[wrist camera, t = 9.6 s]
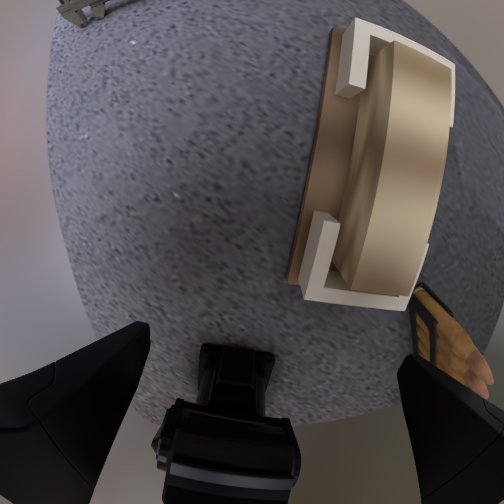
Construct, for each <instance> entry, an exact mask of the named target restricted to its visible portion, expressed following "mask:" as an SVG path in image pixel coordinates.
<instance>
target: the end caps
mask: <svg viewBox="0 0 504 504" xmlns="http://www.w3.org/2000/svg"><path fill="white" fill-rule="evenodd" d="M394 40H395V41H398V42H400V43H402V44H404V45H407V46H409V47H411V48H413V49H415V50H417V51H419V52H421V53H423V54H425V55H427V56H429V57H431V58H433V59H435V60H436V61H438V62H440V63H442V64H444V65H445V66H447V67H449V68H450V69H451V74H452V89H451V114H450V127H453V119H454V103H455V64H454V63H452V62H450V61H449V60H447V59H445V58H444V57H442V56H440V55H439V54H437V53H435V52H433V51H431V50H430V49H428V48H426V47H424V46H422V45H420V44H418V43H416V42H414V41H412V40H410V39H408V38H406V37H404V36H401V35H399V34H397V33H395V32H392V31H390V30H388V29H385V28H383V27H380V26H378V25H375V24H373V23H370V22H367V21H364V20H361V19H358V18H355V19H354V20H353V21H352V23H351V24H350V25H349V27H348V28H347V30H346V31H345V32H344V34H343V35H342V44H341V53H340V62H339V70H338V77H337V84H336V92H335V95H338V96H341V97H345V98H348V99H350V98H351V97H353V96H355V95H356V94H358V93H360V92H361V91H363V90H365V88H366V79H367V69H368V59H369V55H371V56H375V55H376V54H377V53H378V52H380V51H381V50H382V49H383V48H385V47H386V46H387V45H388V44H390V43H391V42H392V41H394ZM450 127H449V128H450ZM340 225H341V224H340V223H339V222H338V221H337V220H336V219H335V218H333V217H332V216H331V215H330V214H329V213H325V212H320V211H315V210H314V213H313V218H312V222H311V227H310V231H309V235H308V240H307V244H306V248H305V253H304V257H303V261H302V265H301V269H300V273H299V277H298V280H299V284H300V287H301V291H302V294H303V298H304V300H311V301H318V302H326V303H334V304H342V305H350V306H359V307H368V308H377V309H387V310H397V311H405V309H406V307H407V304H408V302H409V300H410V297H411V295H412V292H413V290H414V287H415V284H416V282H417V279H418V276H419V274H420V271H421V268H422V265H423V262H424V259H425V256H426V253H427V250H428V247H429V244H428V243H427V245H426V248H425V252H424V255H423V258H422V261H421V264H420V267H419V270H418V273H417V276H416V278H415V281H414V284H413V287H412V289H411V292H410V295H409V296H400V295H391V294H383V293H374V292H366V291H358V290H351V289H350V288H349V286H348V285H347V283H346V281H345V280H344V278H343V277H342V275H341V274H340V272H335V271H329V267H330V263H331V260H332V256H333V252H334V249H335V245H336V241H337V237H338V233H339V229H340Z"/></svg>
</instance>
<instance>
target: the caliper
mask: <svg viewBox="0 0 504 504" xmlns="http://www.w3.org/2000/svg"><path fill="white" fill-rule="evenodd" d="M107 1H109V0H58V1H57V6H56V9H57V10H58V11H59V13H60V14H61V15H62V17H63V18H64V19H66V20H68V21H70V22H72V23H73V24H75V25H77V26H79V27H86V26H87V17H86V16H85V15H84V13H83V11H82V10H81V9H82V8H84V7H87V6H90V7H91V10H92V11H93V13H94V15H95V16H96V17H98V20H101V19H103V18H104V12H105V2H107Z"/></svg>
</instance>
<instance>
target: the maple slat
mask: <svg viewBox="0 0 504 504" xmlns="http://www.w3.org/2000/svg"><path fill="white" fill-rule="evenodd" d="M451 89H452V74H451V69H450V68H449V67H447V66H445V65H444V64H442V63H440V62H438V61H436V60H435V59H433V58H431V57H429V56H427V55H425V54H423V53H421V52H419V51H417V50H415V49H413V48H411V47H409V46H407V45H404V44H402V43H400V42H398V41H395V40H394V41H392V42H391V43H390V44H388V45H387V46H386V47H385V48H383V49H382V50H381V51H380V52H378V53H377V54H376V55H375V56H373V57H372V58H371V59H370V60H368V69H367V79H366V88H365V90H363V91H361V94H360V102H359V110H358V117H357V124H356V131H355V137H354V144H353V150H352V156H351V161H350V167H349V172H348V178H347V183H346V188H345V193H344V198H343V202H342V207H341V212H340V216H339V220H338V222H339V223H340V224H341V225H340V229H339V233H338V237H337V241H336V245H335V249H334V252H333V256H332V261H333V263H334V264H335V266H336V267H337V269H338V270H339V272H340V274H341V275H342V277H343V278H344V280H345V281H346V283H347V285H348V286H349V288H350V289H351V290H358V291H366V292H374V293H383V294H391V295H400V296H409V295H410V292H411V289H412V287H413V284H414V281H415V278H416V276H417V273H418V270H419V267H420V264H421V261H422V258H423V255H424V252H425V248H426V245H427V242H428V238H429V235H430V231H431V227H432V224H433V220H434V216H435V212H436V207H437V203H438V198H439V194H440V189H441V184H442V178H443V173H444V167H445V160H446V153H447V146H448V137H449V127H450V114H451Z"/></svg>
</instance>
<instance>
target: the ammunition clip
mask: <svg viewBox="0 0 504 504" xmlns="http://www.w3.org/2000/svg"><path fill="white" fill-rule="evenodd" d="M408 304H409V311H410V319H411V328H412V337H413V349H414V354H418V355H420V356H421V357H423V358H424V359H426V360H427V361H429V362H430V363H432V364H433V365H435V366H436V367H438V368H439V369H441V370H442V371H444V372H445V373H447V374H448V375H450V376H451V377H453V378H454V379H456V380H457V381H459V382H460V383H462V384H463V385H465V386H466V387H468V388H469V389H471V390H472V391H474V392H475V393H477V394H478V395H480V396H481V397H482V398H484V399H486V400H487V399H488V397H489V395H488V390H487V387H486V384H485V383H487V384H489V385H492V384H493V383H494V380H493V376H492V373H491V370H490V368H489V366H488V364H487V362H486V360H485V359H484V357H483V356H482V355H481V353H480V352H479V351H478V349H477V348H476V346H475V345H474V344H473V342H472V340H471V338H470V337H469V335H468V334H467V333H466V332H465V330H464V329H463V328H462V327H461V326H460V325H459V324H458V323H457V322H456V321H455V320H454V314H453V312H452V311H451V310H450V309H449V308H448V307H447V306H446V305H445V304H444V303H443V302H442V300H441V299H440V298H439V297H438V296H437V295H436V294H435V293H434V292H433V291H432V290H430V289H429V288H428V287H427V286H426V285H425V284H424V283H421V284H419V285H417V286H415V287H414V290H413V292H412V295H411V297H410V300H409V302H408Z"/></svg>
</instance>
